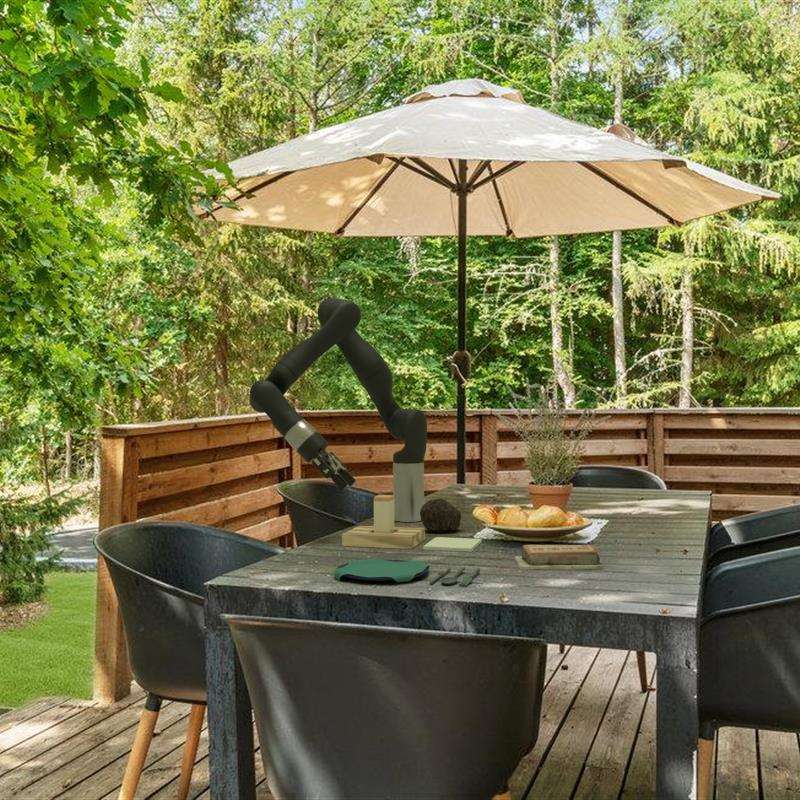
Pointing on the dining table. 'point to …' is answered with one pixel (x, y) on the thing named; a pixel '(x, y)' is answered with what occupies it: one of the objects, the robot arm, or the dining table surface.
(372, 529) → the wooden peg board
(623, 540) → the dining table surface
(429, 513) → the rock
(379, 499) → the plug
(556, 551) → the packaged product
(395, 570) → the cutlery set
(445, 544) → the mat
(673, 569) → the dining table surface
